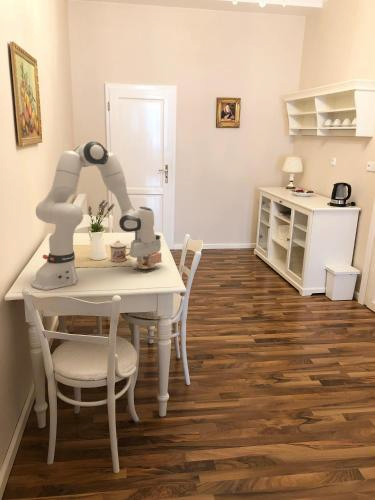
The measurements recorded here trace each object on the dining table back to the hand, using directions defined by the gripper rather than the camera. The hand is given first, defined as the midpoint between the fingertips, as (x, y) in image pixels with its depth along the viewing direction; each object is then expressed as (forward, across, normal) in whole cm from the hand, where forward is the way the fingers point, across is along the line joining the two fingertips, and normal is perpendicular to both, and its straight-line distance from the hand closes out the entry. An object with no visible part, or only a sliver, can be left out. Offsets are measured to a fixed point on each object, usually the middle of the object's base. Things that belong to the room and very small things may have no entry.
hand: (145, 262), depth 219 cm
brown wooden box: (+4, +38, +40) cm, 55 cm away
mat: (+4, +1, 0) cm, 4 cm away
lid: (+2, 0, 0) cm, 2 cm away
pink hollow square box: (+4, +12, +9) cm, 15 cm away
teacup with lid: (+4, +2, +22) cm, 23 cm away
